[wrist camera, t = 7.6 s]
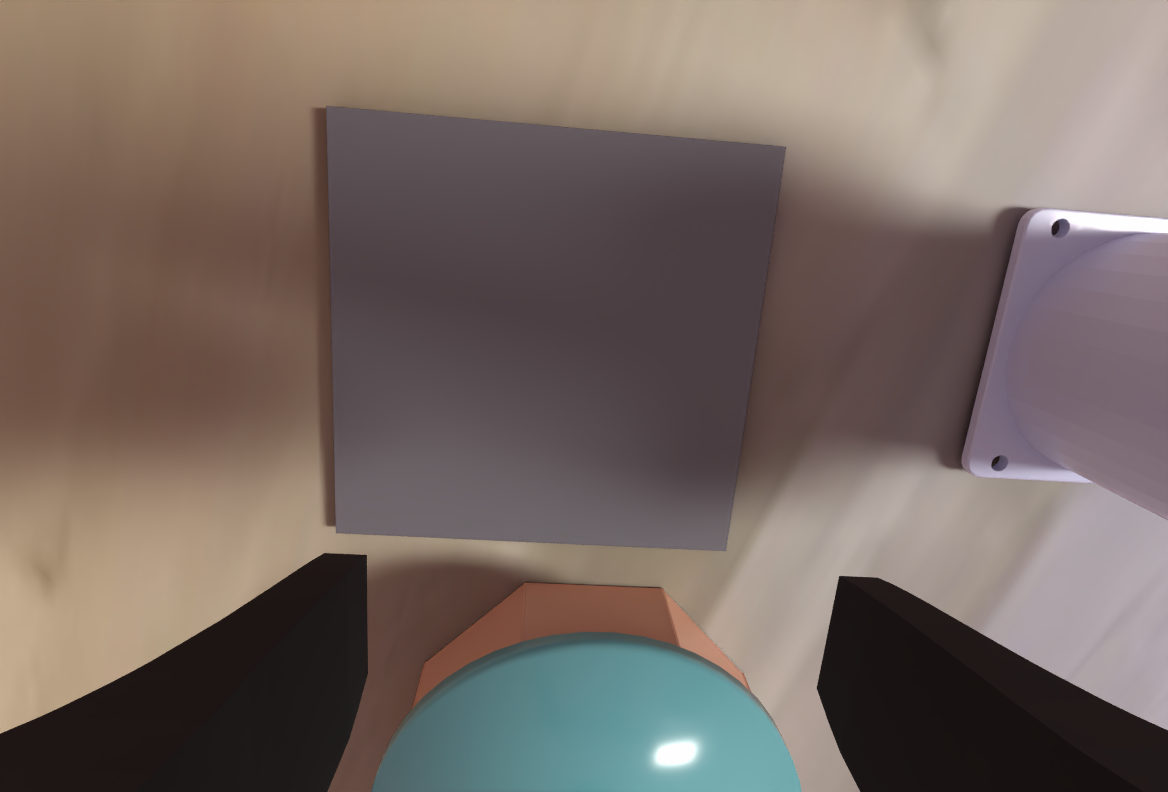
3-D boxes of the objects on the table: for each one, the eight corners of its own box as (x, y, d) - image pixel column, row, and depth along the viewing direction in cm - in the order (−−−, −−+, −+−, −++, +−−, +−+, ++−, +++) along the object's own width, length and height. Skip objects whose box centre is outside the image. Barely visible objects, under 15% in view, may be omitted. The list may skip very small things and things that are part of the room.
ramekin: (757, 591, 22) (800, 673, 18) (714, 848, 25) (744, 964, 21) (425, 577, 21) (398, 659, 18) (421, 843, 24) (397, 963, 20)
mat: (781, 147, 18) (786, 146, 18) (722, 545, 22) (725, 551, 21) (331, 107, 18) (326, 106, 17) (339, 527, 21) (335, 533, 20)
